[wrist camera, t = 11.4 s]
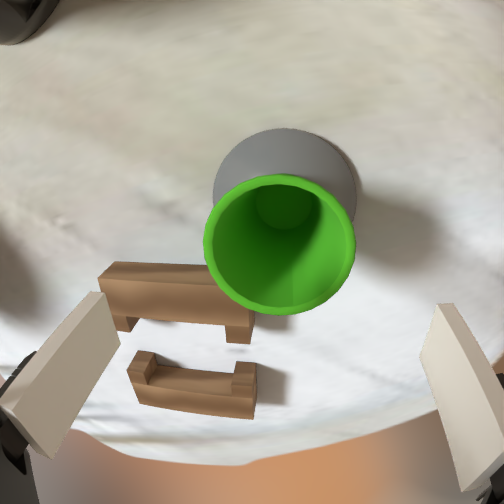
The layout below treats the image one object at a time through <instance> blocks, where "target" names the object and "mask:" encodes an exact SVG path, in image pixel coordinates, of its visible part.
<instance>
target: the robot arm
mask: <svg viewBox="0 0 504 504" xmlns="http://www.w3.org/2000/svg"><path fill="white" fill-rule="evenodd" d="M58 2H59V0H0V45H14V44H17V43H19V42H21V41H23V40H25V39H26V38H28V37H29V36H30V35H32V34H33V33H34V32H35V31H36V30H37V29H38V28H39V27H40V26H41V25H42V24H43V23H44V22H45V20H46V19H47V18H48V17H49V15H50V14H51V13H52V11H53V10H54V8H55V7H56V5H57V3H58ZM120 344H121V343H120V340H119V337H118V334H117V331H116V328H115V325H114V322H113V319H112V315H111V312H110V309H109V305H108V302H107V298H106V295H105V293H103V292H92V291H90V292H89V293H88V294H87V295H86V297H85V298H84V299H83V300H82V301H81V302H80V303H79V304H78V305H77V306H76V307H75V309H74V310H73V311H72V312H71V313H70V314H69V315H68V316H67V317H66V319H65V320H64V321H63V322H62V323H61V324H60V325H59V327H58V328H57V329H56V330H55V331H54V332H53V333H52V335H51V336H50V337H49V338H48V339H47V340H46V342H45V343H44V344H43V345H42V346H41V348H40V349H39V350H38V351H34V352H33V353H31V354H30V355H29V356H27V357H26V358H24V360H23V361H22V362H21V363H20V364H19V366H18V367H17V369H15V371H14V372H13V373H12V376H10V377H9V378H8V379H7V381H6V382H5V383H4V385H3V386H2V387H1V388H0V504H39V499H38V496H37V491H36V487H35V482H34V477H33V472H32V467H31V461H30V455H29V453H28V451H27V449H26V447H27V446H28V444H30V446H31V447H32V448H33V449H34V450H35V451H36V452H37V453H39V454H41V455H43V456H45V457H47V458H49V459H51V460H52V459H53V457H54V456H55V454H56V452H57V450H58V448H59V446H60V445H61V443H62V441H63V439H64V438H65V436H66V434H67V432H68V430H69V429H70V427H71V425H72V423H73V422H74V420H75V418H76V417H77V415H78V413H79V411H80V410H81V408H82V406H83V405H84V403H85V401H86V400H87V398H88V396H89V394H90V393H91V391H92V389H93V388H94V386H95V385H96V383H97V381H98V380H99V378H100V376H101V375H102V373H103V371H104V370H105V368H106V367H107V365H108V363H109V362H110V360H111V359H112V357H113V355H114V354H115V352H116V351H117V349H118V348H119V346H120ZM419 358H420V361H421V363H422V366H423V369H424V371H425V374H426V377H427V379H428V382H429V385H430V388H431V390H432V393H433V396H434V399H435V402H436V405H437V408H438V411H439V414H440V417H441V420H442V423H443V427H444V430H445V433H446V436H447V440H448V443H449V447H450V450H451V453H452V457H453V461H454V465H455V468H456V472H457V477H458V481H459V485H460V489H461V492H465V491H468V490H471V489H475V488H478V487H480V486H482V485H483V484H484V483H485V482H486V481H487V480H488V479H489V478H490V481H491V484H492V485H491V486H489V487H488V488H487V489H486V490H485V491H484V492H483V493H481V494H480V495H479V496H478V498H477V499H476V501H479V500H480V499H481V498H483V497H484V498H483V501H482V502H481V504H504V374H503V373H500V374H495V372H494V371H493V369H492V367H491V365H490V363H489V362H488V360H487V358H486V356H485V354H484V353H483V351H482V349H481V347H480V346H479V344H478V342H477V341H476V339H475V337H474V336H473V334H472V332H471V331H470V329H469V327H468V326H467V324H466V323H465V321H464V319H463V318H462V316H461V315H460V313H459V312H458V310H457V308H456V307H455V305H454V304H453V303H445V304H437V305H436V309H435V312H434V315H433V318H432V321H431V324H430V328H429V331H428V334H427V336H426V339H425V342H424V345H423V348H422V351H421V353H420V356H419Z"/></svg>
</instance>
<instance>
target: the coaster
mask: <svg viewBox="0 0 504 504" xmlns="http://www.w3.org/2000/svg"><path fill="white" fill-rule="evenodd" d="M281 173H286V174H292V175H295V176H299V177H302V178H305V179H307V180H310V181H312V182H315V183H317V184H319V185H320V186H322V187H323V188H324V189H326V190H327V191H329V192H330V193H331V194H333V195H334V196H335V197H336V199H337V200H338V201H339V202H340V203H341V205H342V206H343V207H344V208H345V210H346V212H347V214H348V216H349V218H350V220H351V222H352V221H353V218H354V214H355V209H356V189H355V183H354V180H353V176H352V174H351V172H350V169H349V167H348V166H347V164H346V162H345V161H344V159H343V158H342V157H341V155H340V154H339V153H338V152H337V151H336V150H335V149H334V148H333V147H332V146H331V145H330V144H328V143H327V142H325V141H324V140H323V139H321V138H319V137H317V136H315V135H313V134H311V133H308V132H305V131H301V130H297V129H288V128H280V129H271V130H266V131H263V132H260V133H257V134H255V135H253V136H251V137H249V138H247V139H245V140H244V141H242V142H241V143H239V144H238V145H237V146H236V147H235V148H234V149H233V150H232V151H231V152H230V153H229V154H228V155H227V157H226V158H225V159H224V161H223V163H222V164H221V166H220V168H219V170H218V173H217V175H216V179H215V182H214V188H213V205H214V206H215V205H216V204H217V203H218V201H219V200H220V199H221V198H222V197H223V195H224V194H226V193H227V192H228V191H230V190H231V189H232V188H234V187H235V186H237V185H238V184H240V183H242V182H244V181H247V180H249V179H252V178H255V177H257V176H263V175H271V174H281Z"/></svg>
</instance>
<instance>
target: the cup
mask: <svg viewBox="0 0 504 504" xmlns="http://www.w3.org/2000/svg"><path fill="white" fill-rule="evenodd" d="M203 247H204V257H205V260H206V263H207V266H208V268H209V271H210V274H211V275H212V277H213V278H214V280H215V281H216V283H217V284H218V286H219V287H220V289H222V290H223V291H224V292H225V293H226V294H227V295H228V296H229V297H230V298H231V299H232V300H234V301H235V302H237V303H239V304H240V305H242V306H244V307H246V308H248V309H251V310H254V311H256V312H259V313H263V314H270V315H278V316H279V315H293V314H298V313H301V312H305V311H308V310H311V309H313V308H315V307H317V306H319V305H321V304H323V303H324V302H326V301H327V300H328V299H329V298H331V297H332V296H333V295H334V294H335V293H336V292H337V291H338V290H339V289H340V288H341V286H342V285H343V283H344V282H345V281H346V279H347V278H348V276H349V273H350V271H351V268H352V266H353V263H354V259H355V250H356V240H355V234H354V228H353V225H352V222H351V220H350V218H349V216H348V214H347V212H346V210H345V208H344V207H343V206H342V205H341V203H340V202H339V201H338V200H337V199H336V197H335V196H334V195H333V194H331V193H330V192H329V191H327V190H326V189H324V188H323V187H322V186H320V185H319V184H317V183H315V182H312V181H310V180H307V179H305V178H302V177H299V176H295V175H292V174H286V173H281V174H271V175H263V176H257V177H255V178H252V179H249V180H247V181H244V182H242V183H240V184H238V185H237V186H235V187H234V188H232V189H231V190H230V191H228V192H227V193H226V194H224V195H223V197H222V198H221V199H220V200H219V201H218V203H217V204H216V205H215V206H214V208H213V209H212V211H211V214H210V216H209V218H208V220H207V222H206V225H205V231H204V238H203Z"/></svg>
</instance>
